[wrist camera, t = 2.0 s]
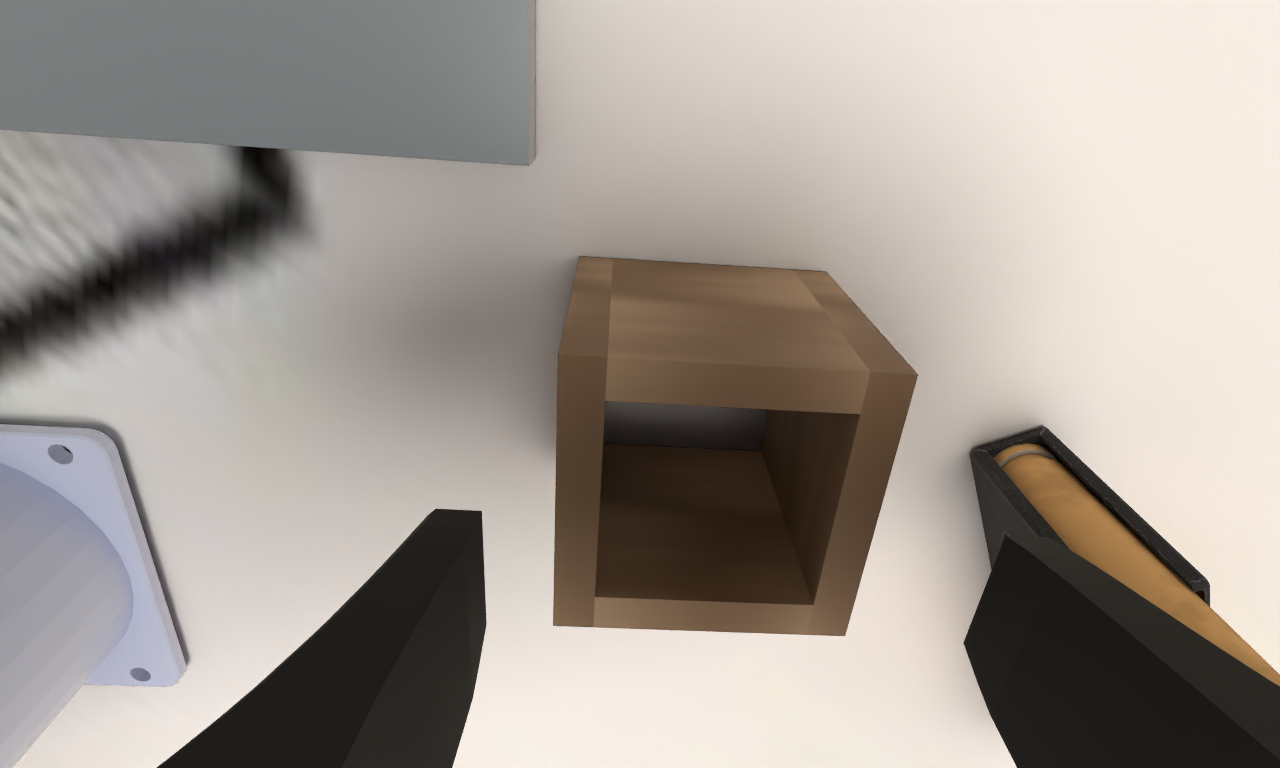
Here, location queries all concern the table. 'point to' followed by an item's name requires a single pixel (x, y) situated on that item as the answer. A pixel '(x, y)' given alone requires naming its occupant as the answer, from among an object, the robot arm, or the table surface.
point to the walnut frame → (721, 479)
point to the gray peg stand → (279, 74)
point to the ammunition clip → (1094, 531)
